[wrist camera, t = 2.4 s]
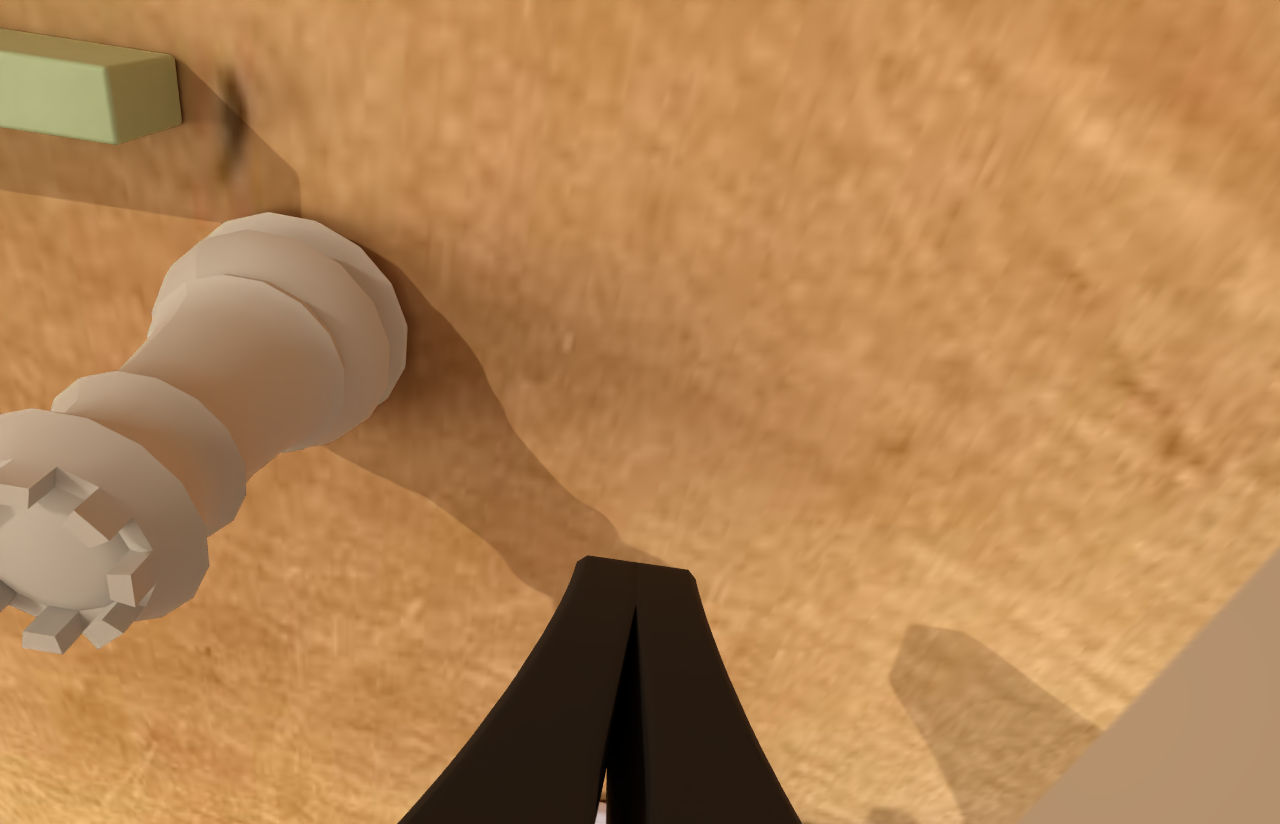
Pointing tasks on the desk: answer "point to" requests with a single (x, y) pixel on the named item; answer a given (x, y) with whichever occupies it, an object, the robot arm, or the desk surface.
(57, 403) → the rook chess piece
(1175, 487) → the desk surface
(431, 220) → the desk surface
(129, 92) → the corner guide
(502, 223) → the desk surface
